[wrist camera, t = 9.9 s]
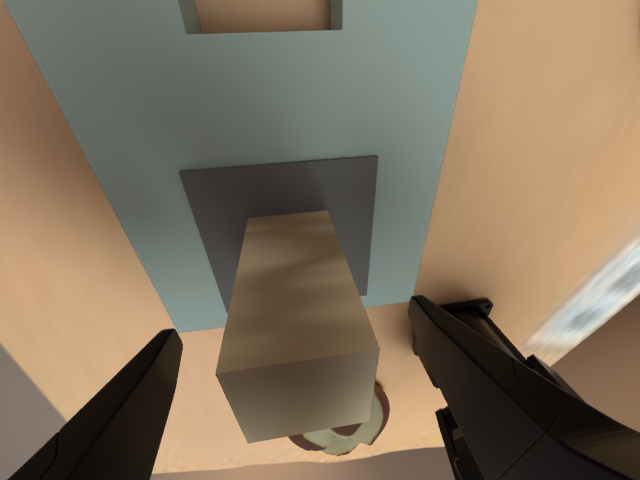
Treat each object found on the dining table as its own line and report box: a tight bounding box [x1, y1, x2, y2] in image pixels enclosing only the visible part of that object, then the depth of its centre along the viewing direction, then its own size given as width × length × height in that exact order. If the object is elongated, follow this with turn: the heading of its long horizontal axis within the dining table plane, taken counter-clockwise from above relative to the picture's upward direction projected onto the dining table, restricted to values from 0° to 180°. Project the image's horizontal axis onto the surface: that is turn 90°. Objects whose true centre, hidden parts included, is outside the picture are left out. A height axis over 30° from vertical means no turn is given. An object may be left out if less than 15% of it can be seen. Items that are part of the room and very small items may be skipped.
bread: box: [288, 385, 390, 456], centre depth 27 cm, size 11×11×5 cm
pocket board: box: [3, 0, 478, 333], centre depth 12 cm, size 16×24×3 cm, turn 2°
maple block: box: [216, 210, 380, 443], centre depth 11 cm, size 4×4×8 cm
